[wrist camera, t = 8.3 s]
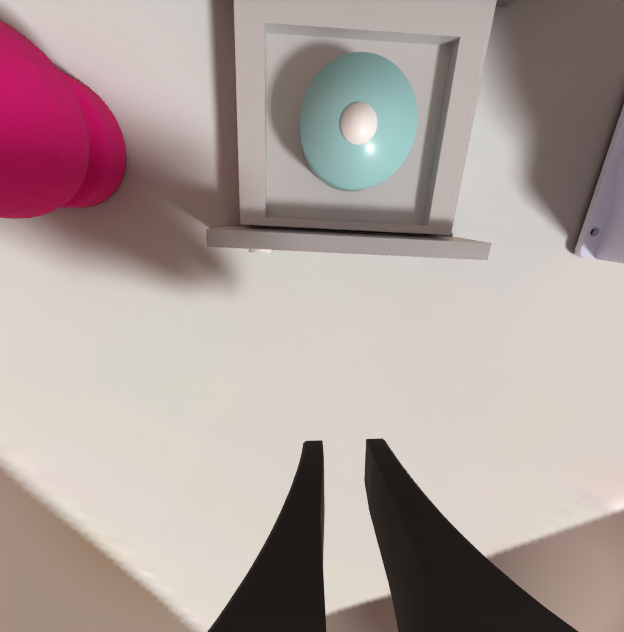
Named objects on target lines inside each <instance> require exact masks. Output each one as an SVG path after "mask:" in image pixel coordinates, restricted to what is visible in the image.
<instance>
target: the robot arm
mask: <svg viewBox="0 0 624 632" xmlns="http://www.w3.org/2000/svg"><path fill="white" fill-rule="evenodd" d="M592 229H593V233H592V234H591V235H590V231H591V230H592ZM575 254H576V255H577V256H578V257H582V258H594V259H601V260H607V261H613V262H619V263H624V105H623V108H622V111H621V114H620V117H619V120H618V123H617V126H616V129H615V132H614V135H613V138H612V141H611V144H610V147H609V150H608V153H607V156H606V159H605V162H604V165H603V168H602V171H601V174H600V177H599V180H598V183H597V185H596V188H595V191H594V194H593V197H592V200H591V203H590V206H589V209H588V212H587V215H586V218H585V221H584V224H583V227H582V230H581V233H580V236H579V239H578V242H577V245H576V248H575ZM365 487H366V493H367V499H368V505H369V511H370V515H371V519H372V522H373V526H374V530H375V534H376V537H377V541H378V545H379V549H380V552H381V556H382V560H383V564H384V567H385V571H386V575H387V579H388V582H389V587H390V591H391V595H392V600H393V605H394V610H395V616H396V621H397V626H398V631H399V632H578V631H576V630H575V629H574V628H572V627H571V626H570V625H568V624H567V623H566V622H564V621H563V620H562V619H560V618H559V617H557V616H556V615H555V614H553V613H552V612H551V611H549V610H548V609H547V608H545V607H544V606H543V605H541V604H540V603H539V602H538V601H537V600H535V599H534V598H533V597H532V596H530V595H529V594H528V593H527V592H525V591H524V590H523V589H522V588H520V587H519V586H518V585H516V583H514V582H513V581H512V580H511V579H510V578H509V577H508V576H506V575H505V574H504V573H503V572H502V571H501V570H500V569H498V568H497V567H496V566H495V565H494V564H493V563H491V562H490V561H489V560H488V559H487V558H486V557H485V556H484V555H482V554H481V553H480V552H479V551H478V550H477V549H476V548H475V547H474V546H473V545H472V544H471V543H470V542H469V541H468V540H467V539H466V538H465V537H464V536H463V535H462V534H461V533H460V532H459V531H458V530H457V529H456V528H455V527H454V526H453V525H452V524H451V523H450V522H449V521H448V520H447V519H446V518H445V517H444V516H443V515H442V513H441V512H440V511H439V510H438V509H437V508H436V507H435V506H434V504H433V503H432V502H431V501H430V500H429V499H428V498H427V496H426V495H425V494H424V493H423V492H422V490H421V489H420V488H419V487H418V485H417V484H416V483H415V482H414V480H413V479H412V478H411V477H410V475H409V474H408V473H407V471H406V470H405V469H404V467H403V466H402V465H401V463H400V462H399V461H398V459H397V458H396V456H395V455H394V453H393V452H392V451H391V449H390V448H389V446H388V445H387V443H386V442H385V440H383V439H366V459H365ZM323 542H324V455H323V443H322V441H306V442H304V443H303V449H302V454H301V458H300V462H299V466H298V469H297V472H296V475H295V478H294V480H293V483H292V486H291V489H290V491H289V494H288V496H287V498H286V501H285V503H284V505H283V508H282V510H281V512H280V514H279V517H278V519H277V521H276V523H275V525H274V527H273V529H272V531H271V533H270V535H269V537H268V538H267V540H266V542H265V544H264V546H263V548H262V549H261V551H260V553H259V555H258V556H257V558H256V560H255V562H254V563H253V565H252V567H251V568H250V570H249V572H248V573H247V575H246V576H245V578H244V580H243V581H242V583H241V584H240V586H239V587H238V589H237V590H236V592H235V593H234V595H233V596H232V598H231V599H230V601H229V602H228V604H227V605H226V607H225V608H224V610H223V611H222V613H221V614H220V615H219V617H218V618H217V620H216V621H215V622H214V624H213V625H212V626H211V628H210V629H209V630H208V632H326V618H325V599H324V580H323Z"/></svg>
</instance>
